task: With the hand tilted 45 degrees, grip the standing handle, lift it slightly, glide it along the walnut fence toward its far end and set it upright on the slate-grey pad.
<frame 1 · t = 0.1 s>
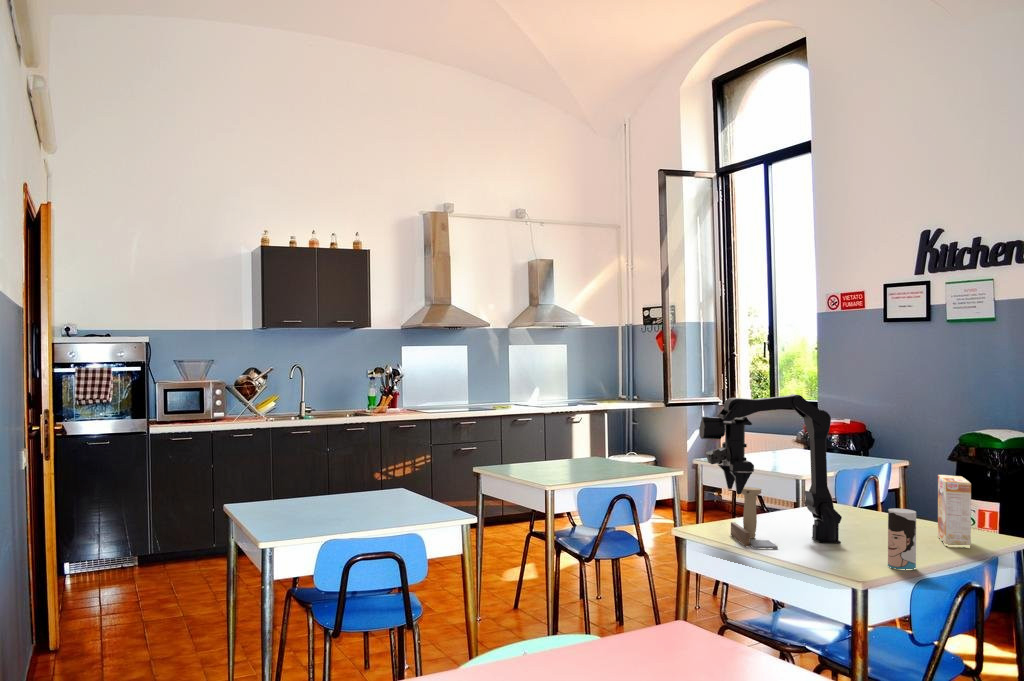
hand: (734, 491, 248), 15 cm above the table, tool pointing down, fingers open, 9 cm apart
walnut fence: (739, 540, 247), on the table
end pad: (761, 545, 241), on the table
coffeecake box: (953, 543, 249), on the table
cup: (901, 568, 219), on the table
handle: (749, 538, 252), on the table
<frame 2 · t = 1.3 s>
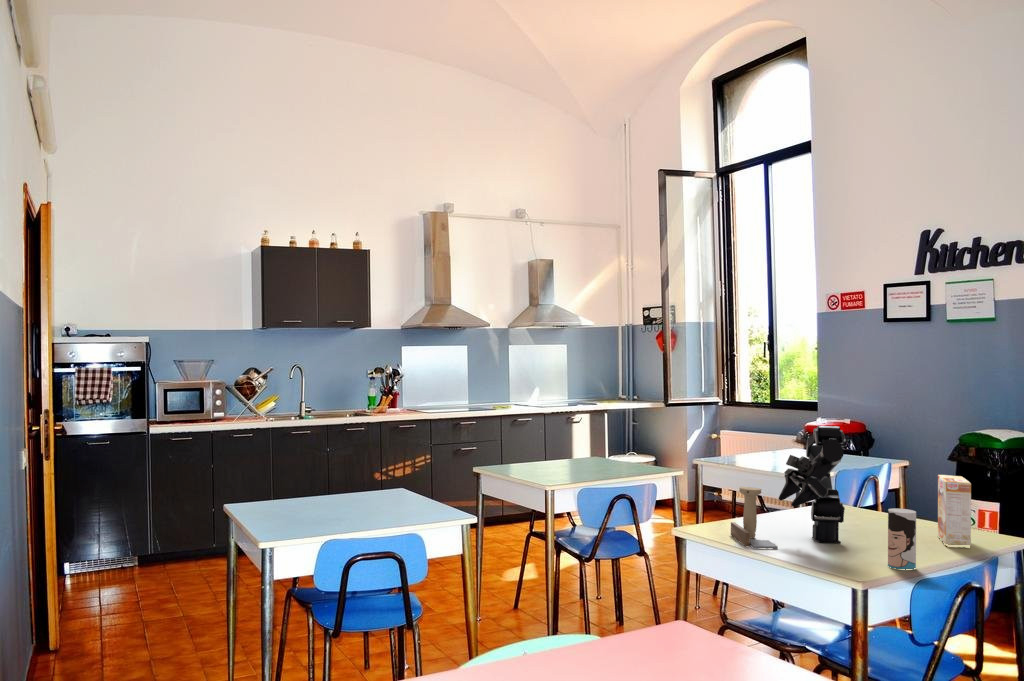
hand: (785, 502, 242), 13 cm above the table, tool tilted 45°, fingers open, 9 cm apart
nothing on the table moved.
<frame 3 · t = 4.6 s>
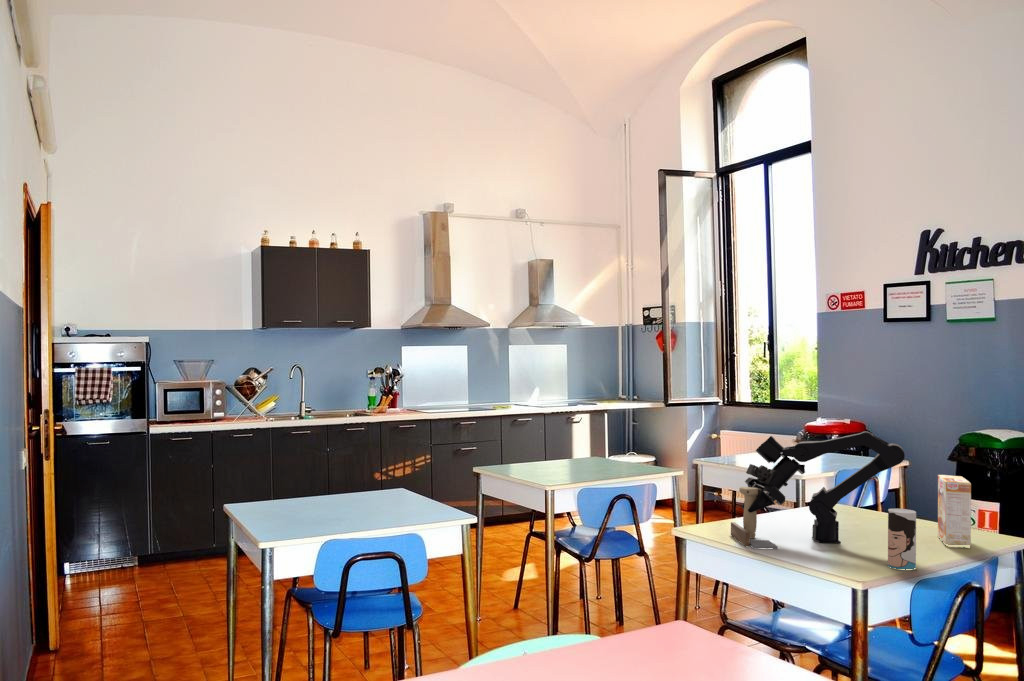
hand: (745, 510, 252), 8 cm above the table, tool tilted 45°, fingers closed on handle, 5 cm apart
handle: (749, 538, 252), on the table, touching gripper
everything else where it was.
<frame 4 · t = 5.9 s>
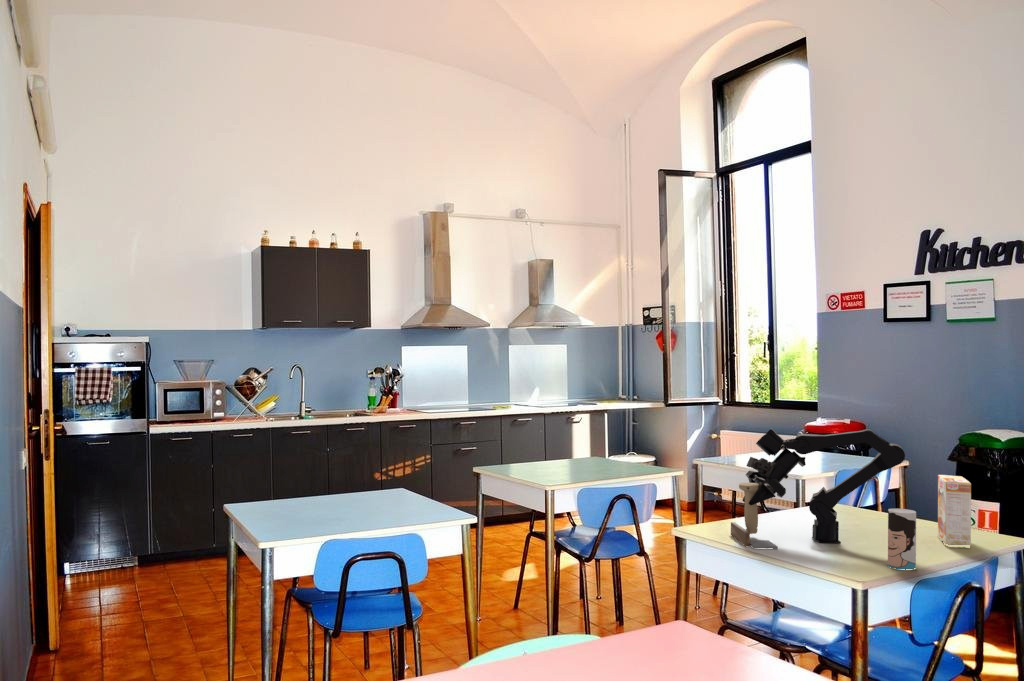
hand: (746, 502, 252), 11 cm above the table, tool tilted 45°, fingers closed on handle, 4 cm apart
handle: (751, 533, 252), point 1 cm above the table, touching gripper
everything else where it was.
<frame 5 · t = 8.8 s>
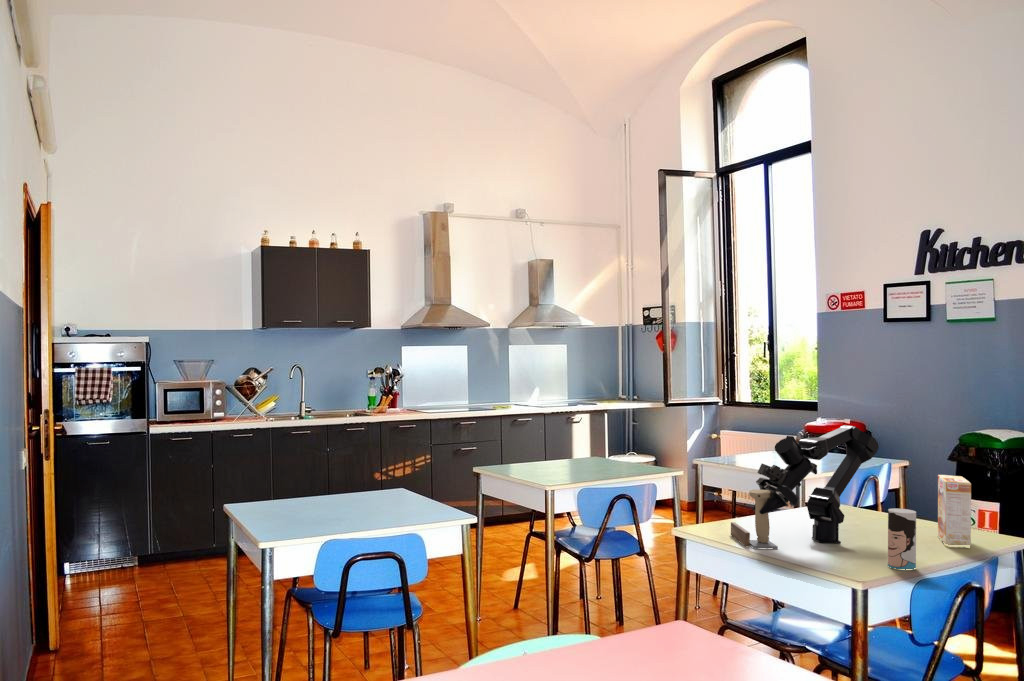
hand: (757, 511, 241), 10 cm above the table, tool tilted 45°, fingers closed on handle, 4 cm apart
handle: (763, 542, 242), point 1 cm above the table, touching end pad, gripper
everything else where it was.
when the fingers open (10 cm above the table, at t = 9.4 s): handle stays where it is, resting on end pad.
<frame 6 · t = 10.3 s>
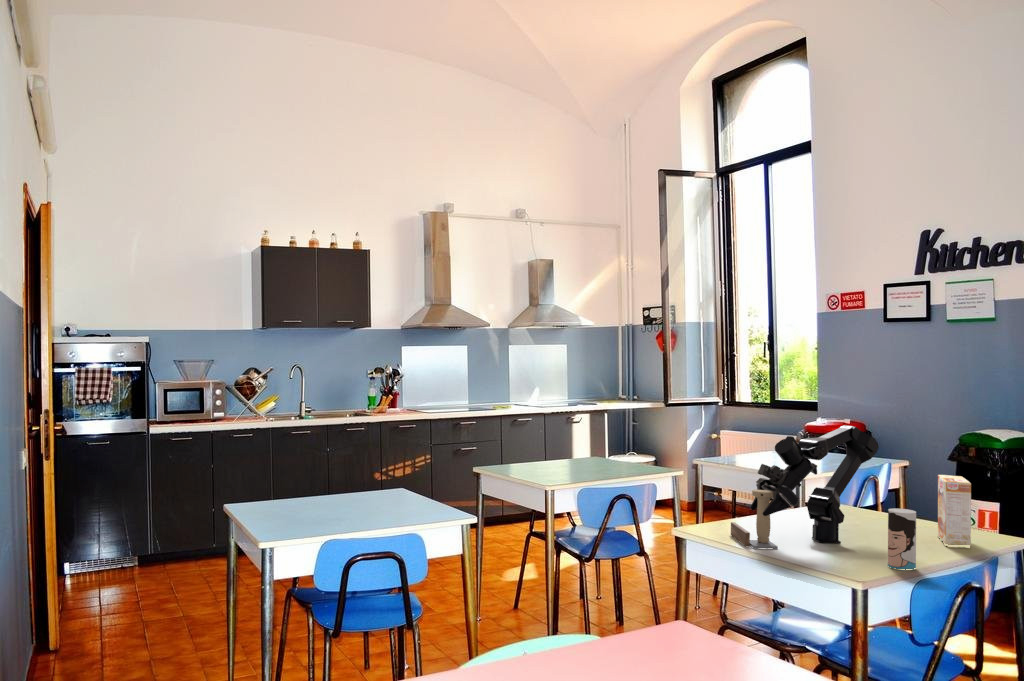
hand: (757, 511, 241), 10 cm above the table, tool tilted 45°, fingers open, 9 cm apart
handle: (763, 543, 242), point 1 cm above the table, touching end pad
everything else where it was.
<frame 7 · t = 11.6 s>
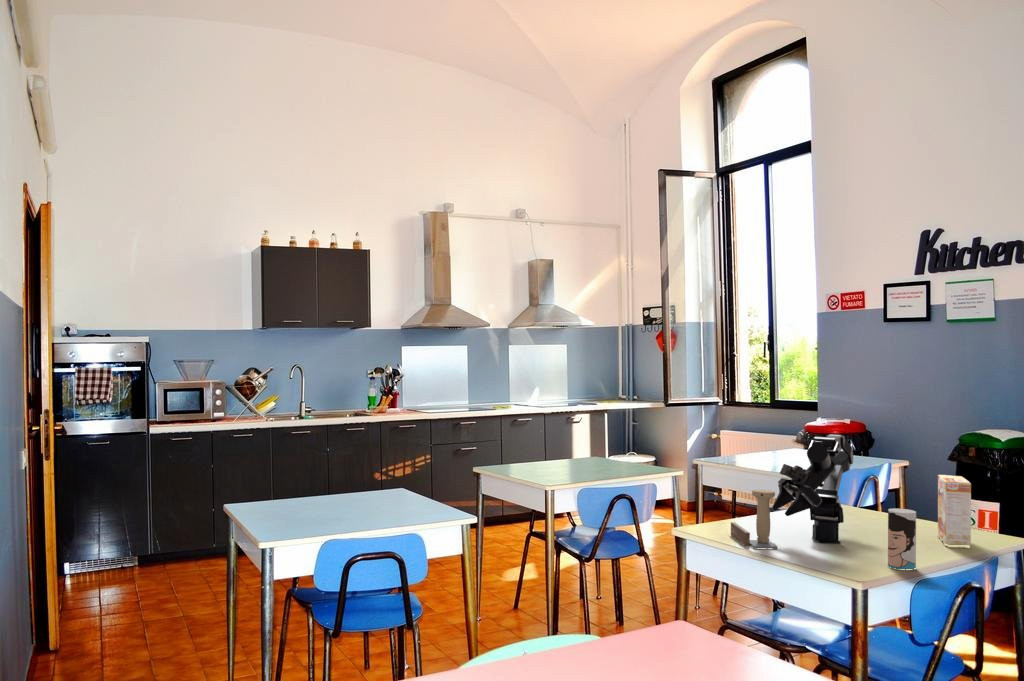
hand: (779, 511, 242), 10 cm above the table, tool tilted 45°, fingers open, 9 cm apart
nothing on the table moved.
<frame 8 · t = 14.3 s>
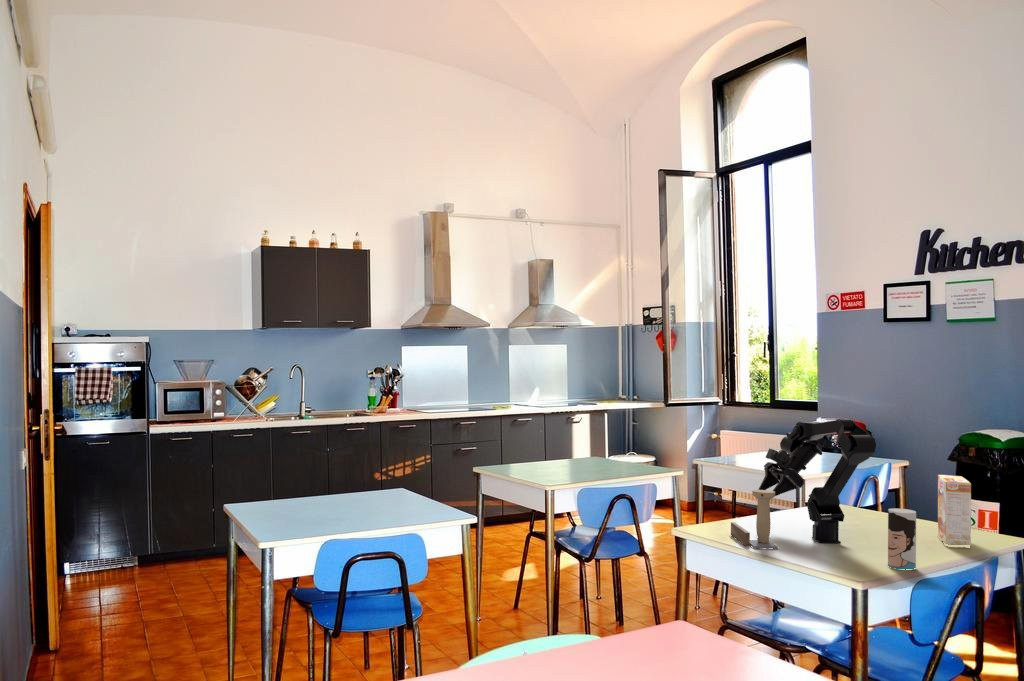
hand: (765, 493, 258), 13 cm above the table, tool tilted 45°, fingers open, 9 cm apart
nothing on the table moved.
at the end: handle 1.2 cm from the target spot, point 0.6 cm above the table; handle tilted 0°; the gripper is holding nothing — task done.
